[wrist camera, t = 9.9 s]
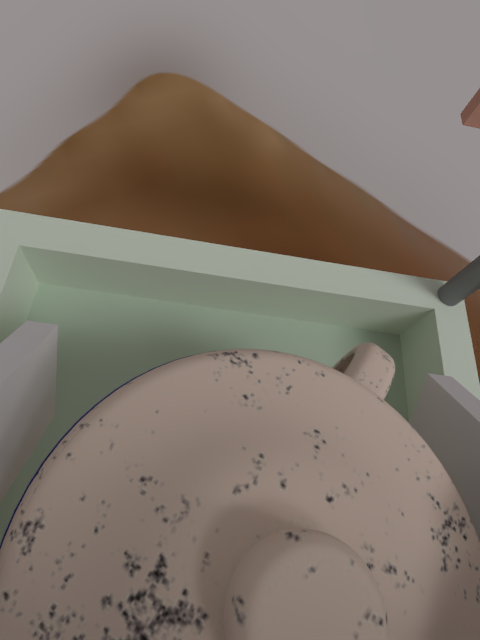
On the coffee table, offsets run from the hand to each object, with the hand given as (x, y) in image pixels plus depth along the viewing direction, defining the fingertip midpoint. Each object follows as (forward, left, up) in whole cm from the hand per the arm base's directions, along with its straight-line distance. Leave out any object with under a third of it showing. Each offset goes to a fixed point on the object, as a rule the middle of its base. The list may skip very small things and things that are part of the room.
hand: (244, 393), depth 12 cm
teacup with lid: (-1, +3, -6) cm, 7 cm away
